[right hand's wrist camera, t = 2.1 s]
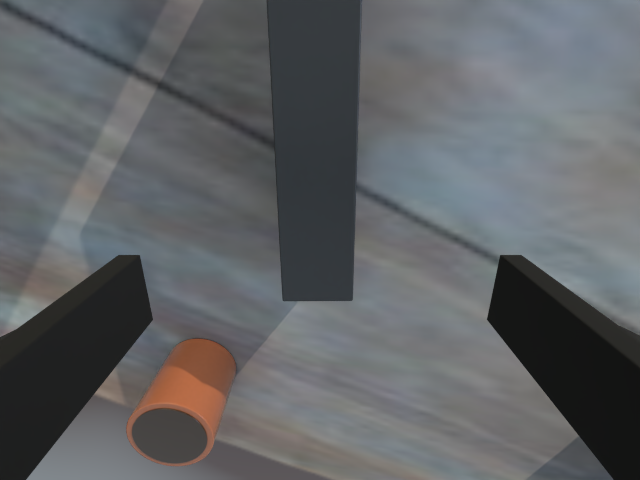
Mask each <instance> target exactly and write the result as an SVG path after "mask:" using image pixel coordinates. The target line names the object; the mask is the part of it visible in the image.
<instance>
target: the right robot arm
mask: <svg viewBox="0 0 640 480" xmlns="http://www.w3.org/2000/svg"><path fill="white" fill-rule="evenodd" d="M152 320H153V318H152V313H151V308H150V303H149V298H148V293H147V289H146V284H145V279H144V274H143V269H142V264H141V259H140V255H118V256H117V257H115V258H114V259H113V260H111V261H110V262H109V263H107V264H106V265H104V266H103V267H102V268H100V269H99V270H98V271H96V272H95V273H93V274H92V275H91V276H89V277H88V278H86V279H85V280H84V281H82V282H81V283H80V284H78V285H77V286H75V287H74V288H73V289H71V290H70V291H69V292H67V293H66V294H64V295H63V296H62V297H60V298H59V299H58V300H56V301H55V302H53V303H52V304H51V305H49V306H48V307H47V308H45V309H44V310H42V311H41V312H40V313H38V314H37V315H36V316H34V317H33V318H31V319H30V320H29V321H27V322H26V323H25V324H23V325H22V326H20V327H19V328H18V329H16V330H14V331H12V332H10V333H8V334H6V335H4V336H2V337H0V480H26V479H27V478H28V476H29V475H30V474H31V473H32V471H33V470H34V469H35V468H36V466H37V465H38V464H39V463H40V461H41V460H42V459H43V458H44V456H45V455H46V454H47V453H48V451H49V450H50V449H51V448H52V446H53V445H54V444H55V442H56V441H57V440H58V439H59V437H60V436H61V435H62V434H63V432H64V431H65V430H66V429H67V427H68V426H69V425H70V424H71V422H72V421H73V420H74V418H75V417H76V416H77V415H78V413H79V412H80V411H81V410H82V408H83V407H84V406H85V405H86V403H87V402H88V401H89V400H90V398H91V397H92V396H93V395H94V393H95V392H96V391H97V389H98V388H99V387H100V386H101V384H102V383H103V382H104V381H105V379H106V378H107V377H108V376H109V374H110V373H111V372H112V371H113V369H114V368H115V367H116V366H117V364H118V363H119V362H120V360H121V359H122V358H123V357H124V355H125V354H126V353H127V352H128V350H129V349H130V348H131V347H132V345H133V344H134V343H135V342H136V340H137V339H138V338H139V337H140V335H141V334H142V333H143V331H144V330H145V329H146V328H147V326H148V325H149V324H150V323H151V321H152ZM487 320H488V321H489V323H490V324H491V325H492V326H493V328H494V329H495V330H496V331H497V333H498V334H499V335H500V337H501V338H502V339H503V340H504V342H505V343H506V344H507V345H508V347H509V348H510V349H511V350H512V352H513V353H514V354H515V355H516V357H517V358H518V359H519V360H520V362H521V363H522V364H523V366H524V367H525V368H526V369H527V371H528V372H529V373H530V374H531V376H532V377H533V378H534V379H535V381H536V382H537V383H538V384H539V386H540V387H541V388H542V389H543V391H544V392H545V393H546V395H547V396H548V397H549V398H550V400H551V401H552V402H553V403H554V405H555V406H556V407H557V408H558V410H559V411H560V412H561V413H562V415H563V416H564V417H565V418H566V420H567V421H568V422H569V424H570V425H571V426H572V427H573V429H574V430H575V431H576V432H577V434H578V435H579V436H580V437H581V439H582V440H583V441H584V442H585V444H586V445H587V446H588V448H589V449H590V450H591V451H592V453H593V454H594V455H595V456H596V458H597V459H598V460H599V461H600V463H601V464H602V465H603V466H604V468H605V469H606V470H607V471H608V473H609V474H610V475H611V477H612V478H613V479H614V480H640V336H639V335H637V334H635V333H633V332H631V331H629V330H627V329H625V328H623V327H621V326H618V325H617V324H615V323H614V322H613V321H611V320H610V319H609V318H607V317H606V316H604V315H603V314H602V313H600V312H599V311H598V310H596V309H595V308H593V307H592V306H591V305H589V304H588V303H587V302H585V301H584V300H582V299H581V298H580V297H578V296H577V295H576V294H574V293H573V292H571V291H570V290H569V289H567V288H566V287H565V286H563V285H562V284H560V283H559V282H558V281H556V280H555V279H553V278H552V277H551V276H549V275H548V274H547V273H545V272H544V271H542V270H541V269H540V268H538V267H537V266H536V265H534V264H533V263H531V262H530V261H529V260H527V259H526V258H525V257H523V256H522V255H500V259H499V264H498V269H497V274H496V279H495V284H494V289H493V293H492V298H491V303H490V308H489V313H488V318H487Z"/></svg>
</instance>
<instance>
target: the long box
mask: <svg viewBox="0 0 640 480" xmlns="http://www.w3.org/2000/svg"><path fill="white" fill-rule="evenodd" d="M267 13H268V32H269V51H270V70H271V89H272V108H273V127H274V146H275V165H276V184H277V203H278V222H279V241H280V260H281V279H282V298H283V301H352V300H353V273H354V241H355V208H356V176H357V143H358V111H359V79H360V46H361V14H362V0H267Z"/></svg>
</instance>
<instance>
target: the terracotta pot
mask: <svg viewBox="0 0 640 480" xmlns="http://www.w3.org/2000/svg"><path fill="white" fill-rule="evenodd" d="M235 375H236V364H235V361H234V359H233V357H232V355H231V354H230V353H229V351H228V350H227V349H225V348H224V347H223V346H221V345H220V344H218V343H216V342H213V341H210V340H207V339H189V340H186V341H183V342H181V343H179V344H178V345H176V346H175V347H174V348H173V349H172V350H171V352H170V353H169V355H168V357H167V358H166V360H165V361H164V363H163V365H162V366H161V368H160V369H159V371H158V373H157V374H156V376H155V378H154V379H153V381H152V382H151V384H150V386H149V387H148V389H147V390H146V392H145V394H144V395H143V397H142V399H141V400H140V402H139V403H138V405H137V407H136V408H135V410H134V411H133V413H132V415H131V416H130V418H129V420H128V422H127V427H126V433H127V437H128V440H129V442H130V443H131V445H132V446H133V448H134V449H135V450H136V451H137V452H138V453H140V454H141V455H142V456H144V457H145V458H147V459H149V460H151V461H153V462H156V463H159V464H163V465H168V466H186V465H190V464H194V463H196V462H198V461H200V460H202V459H203V458H205V457H206V456H207V455H208V454H209V452H210V451H211V449H212V447H213V444H214V441H215V438H216V435H217V432H218V429H219V426H220V422H221V419H222V416H223V413H224V410H225V407H226V404H227V401H228V397H229V394H230V391H231V388H232V385H233V382H234V379H235Z"/></svg>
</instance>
